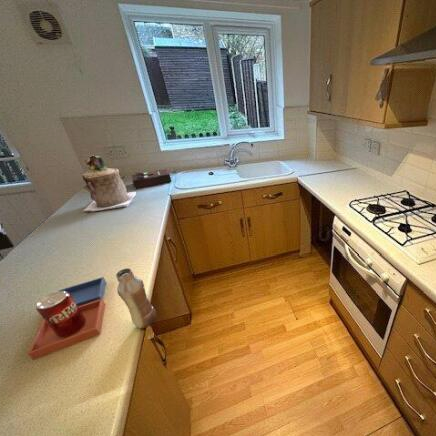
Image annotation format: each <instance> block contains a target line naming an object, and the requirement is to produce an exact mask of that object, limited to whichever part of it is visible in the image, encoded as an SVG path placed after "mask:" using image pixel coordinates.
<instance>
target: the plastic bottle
mask: <svg viewBox="0 0 436 436" xmlns="http://www.w3.org/2000/svg"><path fill="white" fill-rule="evenodd" d="M115 276H116V280H117V282H118V284H117V288H116V290H117V291H116V292H117V294H118V296H119V297H120V298H121V300H122V301H123V302H124V304H125V305H126V307H127V309H128V311H129V314H130V318H131V319H130V320H131V322H132V324H133V326H135V327H136V328H137V329H146V328H148V327H151V325H153V324H154V323H155V322H156V319H157V310H156V308H155V307H154V306H153V305H152V303H151V302H150V300H149V298H148V295H147V292H146V288H145V284H144V281H143V279H141V278H140V277H138V276H136V275H135V274H134V272H133V271H132V269H131V268H123V269H121V270H119V271H118V272H117V273H116V274H115Z"/></svg>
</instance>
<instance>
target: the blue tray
mask: <svg viewBox="0 0 436 436" xmlns="http://www.w3.org/2000/svg"><path fill="white" fill-rule="evenodd" d="M106 285H107V280H106V279H105V277H104V276H102V277H99V278H98V277H97V278H95V279H91V280H87V281H85V282H82V283H78V284H76V285H72V286H68V287H64V288H62V289H59V290H58V291H67V292H69V293H70V295H71V296H72V298H73V299H74V301H75V302H76V304H77V306H78V307H79V306H82V305H85V304H88V303H91V302H94V301H97V300H100V299H103V300H104V295H105V290H106Z"/></svg>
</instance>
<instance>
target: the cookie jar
mask: <svg viewBox="0 0 436 436" xmlns="http://www.w3.org/2000/svg"><path fill="white" fill-rule="evenodd" d="M88 157H89V158H86V159H85V160H84V161H85V164H86V165H87V166H89V167H88V168H89V169H88V170H87V171H86V172H85V173H83V174H82V179H83V181H84V182H85V184H84V185H83V186H82V188H83V189H84V190H86V191H87V192H89V193H90V199H91V200H92V201H91V203H89V205H88V206H87V207H86V208H84V209H83V212H91V213H92V212H95V213H96V212H99V211H105V210H112V209H119V208H126V207H128V208H129V205H131V203H132V201H133V199H134V198H135V196H136V195H137V191H131V192H127V187H126V185H125V183H124V181H123V179H122V177H121V175H120V174H119V173H120V169H118V168H111V167H107V166H105V163H104V161H103V157H102V156H101V155H94V154H92V155H89V156H88Z"/></svg>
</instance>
